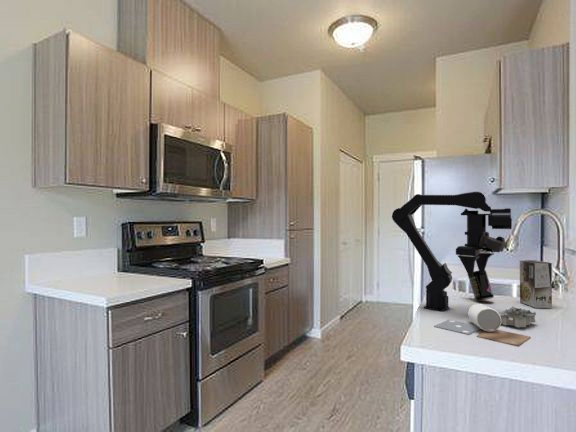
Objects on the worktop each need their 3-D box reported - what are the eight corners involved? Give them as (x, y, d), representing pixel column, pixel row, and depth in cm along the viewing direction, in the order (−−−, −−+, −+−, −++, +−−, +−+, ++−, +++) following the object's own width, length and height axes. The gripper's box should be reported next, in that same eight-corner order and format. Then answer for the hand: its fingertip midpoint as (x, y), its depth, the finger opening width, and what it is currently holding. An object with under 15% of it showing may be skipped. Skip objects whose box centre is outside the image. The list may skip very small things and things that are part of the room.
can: (505, 329, 100) (492, 322, 112) (498, 306, 101) (486, 301, 113) (479, 333, 102) (470, 326, 113) (473, 310, 103) (464, 305, 114)
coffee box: (552, 308, 131) (552, 262, 131) (534, 308, 131) (534, 262, 131) (536, 302, 140) (536, 259, 140) (519, 302, 140) (518, 259, 140)
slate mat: (433, 327, 108) (433, 325, 108) (449, 321, 115) (449, 319, 115) (468, 336, 101) (468, 333, 101) (483, 328, 107) (483, 326, 107)
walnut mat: (476, 338, 99) (476, 335, 99) (490, 330, 106) (490, 328, 106) (518, 347, 92) (518, 345, 92) (530, 338, 98) (530, 336, 98)
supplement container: (489, 296, 136) (480, 269, 140) (472, 300, 140) (464, 274, 144) (497, 297, 139) (489, 270, 144) (480, 301, 144) (472, 275, 148)
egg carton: (522, 329, 105) (521, 314, 105) (496, 324, 111) (494, 310, 111) (540, 321, 110) (538, 307, 111) (513, 317, 117) (512, 304, 117)
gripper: (491, 230, 112) (491, 281, 112) (512, 228, 124) (512, 274, 124) (454, 229, 120) (455, 277, 120) (477, 227, 132) (477, 271, 132)
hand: (476, 274), depth 124 cm, fingers open, 9 cm apart
